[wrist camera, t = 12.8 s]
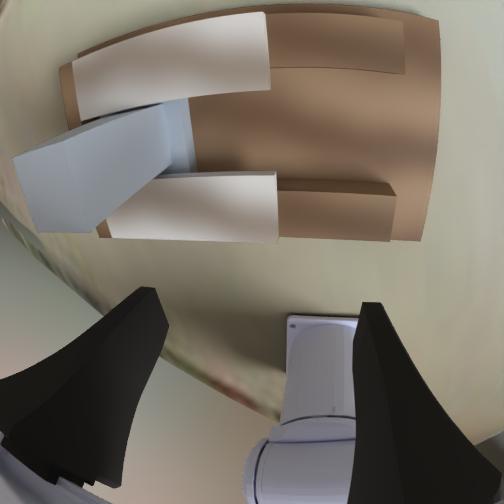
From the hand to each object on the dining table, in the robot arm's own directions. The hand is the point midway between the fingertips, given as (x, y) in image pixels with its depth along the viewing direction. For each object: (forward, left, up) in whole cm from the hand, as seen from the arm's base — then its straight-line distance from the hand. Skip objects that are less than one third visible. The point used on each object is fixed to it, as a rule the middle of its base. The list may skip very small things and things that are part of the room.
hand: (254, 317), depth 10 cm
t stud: (+5, +8, -9) cm, 13 cm away
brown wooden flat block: (+5, +2, -10) cm, 12 cm away
